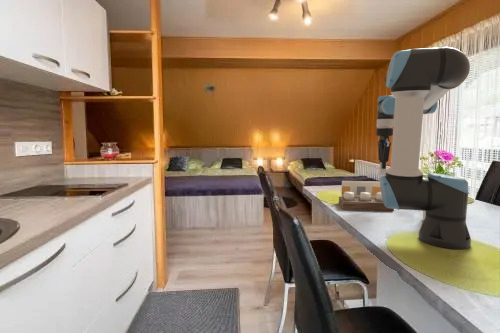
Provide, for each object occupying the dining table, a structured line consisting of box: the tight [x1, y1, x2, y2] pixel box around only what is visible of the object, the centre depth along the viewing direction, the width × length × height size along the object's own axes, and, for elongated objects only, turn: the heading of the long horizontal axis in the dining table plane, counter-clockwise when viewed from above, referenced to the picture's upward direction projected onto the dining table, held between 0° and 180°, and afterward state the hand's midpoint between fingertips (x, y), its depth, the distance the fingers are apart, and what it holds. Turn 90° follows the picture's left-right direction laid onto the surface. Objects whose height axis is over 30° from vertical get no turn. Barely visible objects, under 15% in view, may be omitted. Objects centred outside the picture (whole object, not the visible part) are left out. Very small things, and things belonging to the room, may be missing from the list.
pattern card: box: [340, 180, 381, 198], centre depth 157 cm, size 1×20×12 cm, turn 82°
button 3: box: [344, 192, 354, 201], centre depth 149 cm, size 5×5×4 cm
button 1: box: [376, 192, 383, 201], centre depth 147 cm, size 5×5×4 cm
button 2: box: [360, 192, 370, 201], centre depth 148 cm, size 5×5×4 cm
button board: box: [338, 196, 395, 212], centre depth 148 cm, size 12×24×4 cm, turn 82°
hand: (382, 175), depth 146 cm, fingers closed
